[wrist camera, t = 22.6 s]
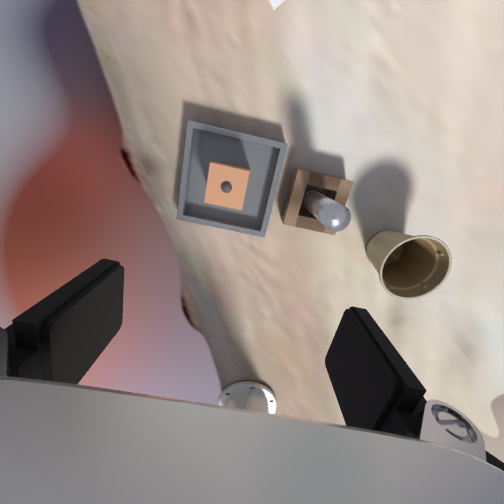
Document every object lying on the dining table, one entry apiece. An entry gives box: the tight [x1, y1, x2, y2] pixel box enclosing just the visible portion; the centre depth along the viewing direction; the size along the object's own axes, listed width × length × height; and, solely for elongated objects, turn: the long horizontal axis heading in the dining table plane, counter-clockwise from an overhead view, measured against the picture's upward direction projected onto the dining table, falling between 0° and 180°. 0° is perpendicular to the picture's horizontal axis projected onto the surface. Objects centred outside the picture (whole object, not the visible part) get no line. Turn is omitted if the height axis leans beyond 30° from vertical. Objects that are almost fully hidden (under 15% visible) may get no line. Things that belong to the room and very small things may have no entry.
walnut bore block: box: [281, 168, 353, 235], centre depth 37 cm, size 8×8×3 cm
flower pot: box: [366, 230, 452, 299], centre depth 37 cm, size 9×9×9 cm
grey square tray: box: [177, 120, 288, 237], centre depth 37 cm, size 14×14×2 cm
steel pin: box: [303, 191, 351, 232], centre depth 33 cm, size 3×3×12 cm
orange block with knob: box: [204, 162, 250, 210], centre depth 34 cm, size 5×5×6 cm
